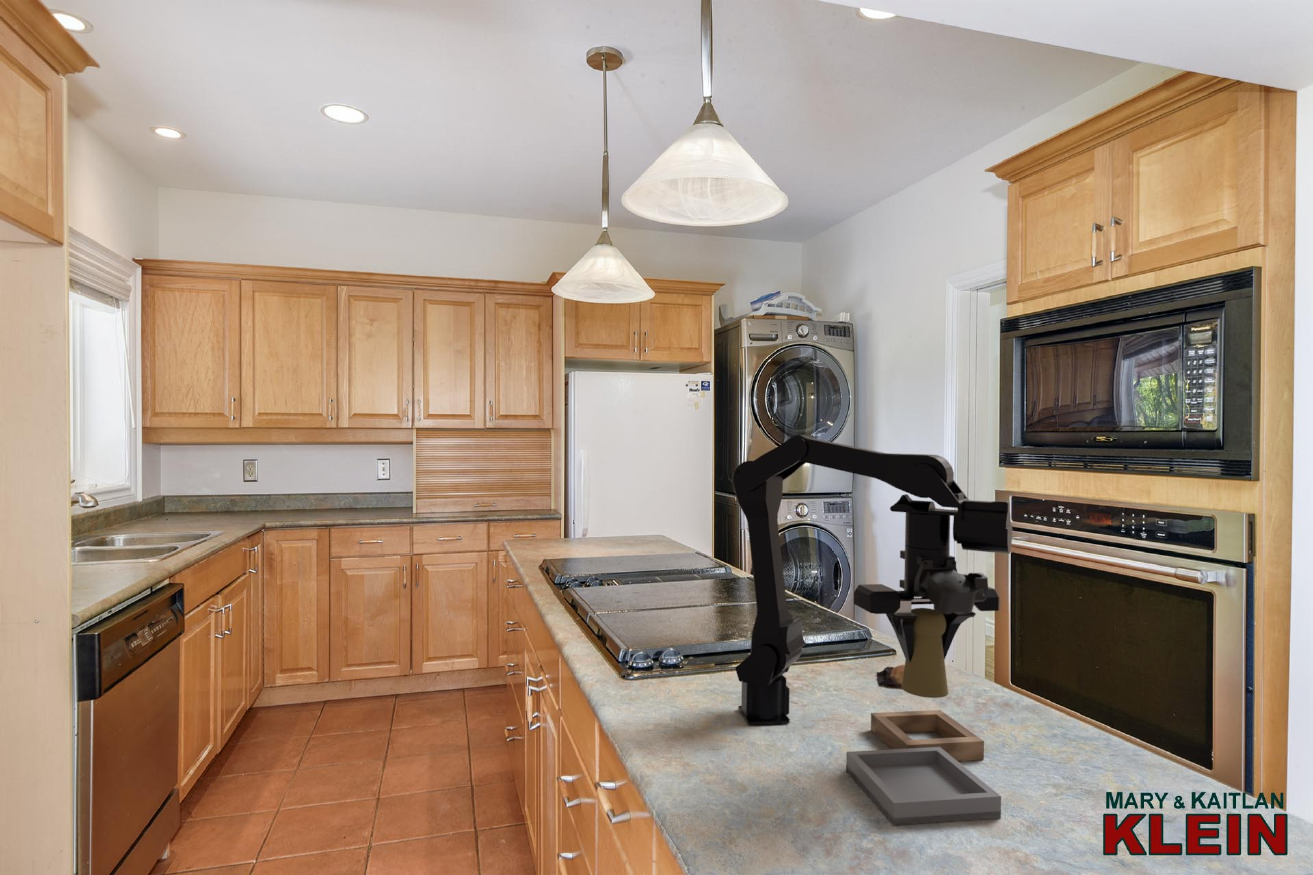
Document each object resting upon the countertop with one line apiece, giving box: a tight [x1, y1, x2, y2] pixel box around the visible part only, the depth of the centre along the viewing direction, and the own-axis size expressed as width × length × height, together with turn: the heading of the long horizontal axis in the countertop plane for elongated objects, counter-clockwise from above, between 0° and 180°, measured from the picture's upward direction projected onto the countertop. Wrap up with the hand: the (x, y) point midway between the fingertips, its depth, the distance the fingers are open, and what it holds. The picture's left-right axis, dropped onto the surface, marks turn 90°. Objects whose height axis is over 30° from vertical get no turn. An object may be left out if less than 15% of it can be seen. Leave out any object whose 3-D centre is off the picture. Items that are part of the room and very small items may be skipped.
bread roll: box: [876, 664, 905, 690], centre depth 126 cm, size 11×8×4 cm
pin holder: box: [870, 709, 985, 762], centre depth 101 cm, size 11×11×2 cm
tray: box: [845, 747, 1002, 826], centre depth 87 cm, size 13×13×2 cm
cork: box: [901, 607, 949, 699], centre depth 97 cm, size 6×6×11 cm
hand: (924, 660), depth 97 cm, fingers closed on cork, 4 cm apart
